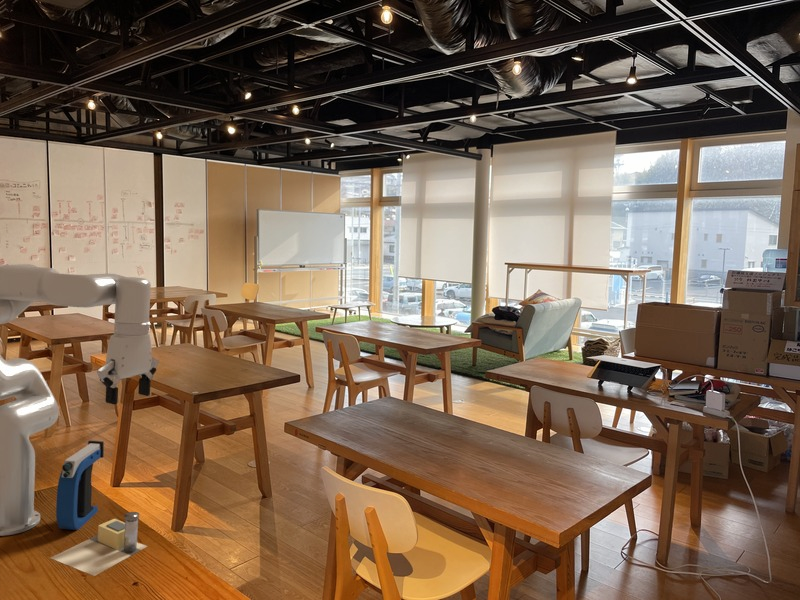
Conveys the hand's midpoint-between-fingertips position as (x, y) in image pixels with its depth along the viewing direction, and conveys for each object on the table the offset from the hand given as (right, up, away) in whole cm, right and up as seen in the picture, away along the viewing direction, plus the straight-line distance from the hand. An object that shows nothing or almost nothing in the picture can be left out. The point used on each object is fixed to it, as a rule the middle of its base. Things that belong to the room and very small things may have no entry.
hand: (128, 398), depth 143 cm
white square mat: (-5, -37, -3) cm, 37 cm away
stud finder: (-4, -35, +1) cm, 35 cm away
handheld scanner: (-18, -34, +10) cm, 40 cm away
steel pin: (+1, -36, -2) cm, 36 cm away
